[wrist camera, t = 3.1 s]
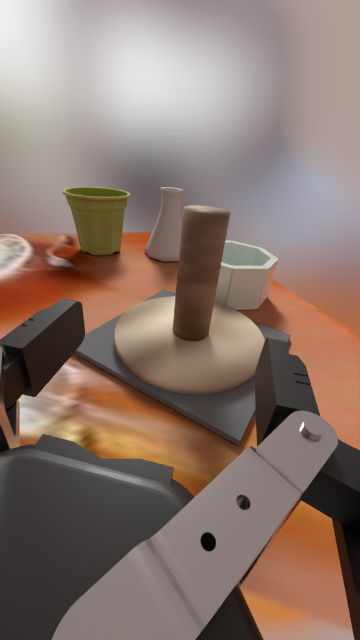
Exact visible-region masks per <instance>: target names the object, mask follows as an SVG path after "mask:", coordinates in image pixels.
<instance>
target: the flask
mask: <svg viewBox="0 0 360 640" xmlns="http://www.w3.org/2000/svg"><path fill="white" fill-rule="evenodd" d="M161 192H162V204H161V208H160V213H159V216H158V219H157V222H156V224H155V227H154V230H153V232H152V234H151V237H150V239H149V241H148V244H147V246H146V248H145V252H146V253H147V255H148V256H149V257H151V258H155V259H158V260H161V261H179V253H180V242H181V232H182V219H181V208H180V201H181V195H182V194H183V192H184V191H183V190H181V189H178V188H170V187H164V188H161Z"/></svg>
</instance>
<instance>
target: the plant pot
mask: <svg viewBox="0 0 360 640" xmlns="http://www.w3.org/2000/svg"><path fill="white" fill-rule="evenodd" d="M62 191H63V194H65V195H66V198H67V201H68V204H69V205H70V207H71V211H72V214H73V218H74V222H75V226H76V230H77V234H78V238H79V243H80V246H81V250H82V251H83V252H89V253H90V254H92V255H110V254H113V253H114V252H119V251H120V248H121V238H122V229H123V219H124V210H125V208H126V204H127V198H129V197H130V193H128V192H125V191H122V190H117V189H109V188H98V187H73V188H66V189H63V190H62Z"/></svg>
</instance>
